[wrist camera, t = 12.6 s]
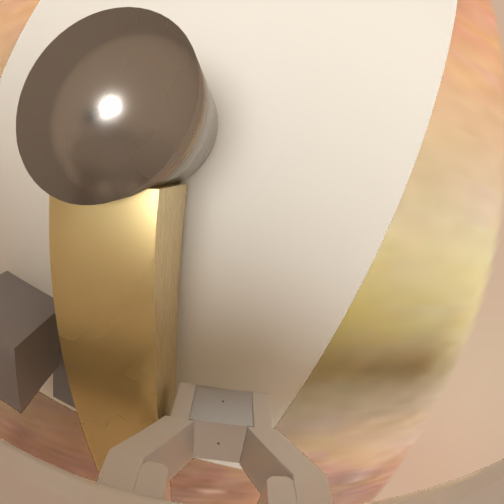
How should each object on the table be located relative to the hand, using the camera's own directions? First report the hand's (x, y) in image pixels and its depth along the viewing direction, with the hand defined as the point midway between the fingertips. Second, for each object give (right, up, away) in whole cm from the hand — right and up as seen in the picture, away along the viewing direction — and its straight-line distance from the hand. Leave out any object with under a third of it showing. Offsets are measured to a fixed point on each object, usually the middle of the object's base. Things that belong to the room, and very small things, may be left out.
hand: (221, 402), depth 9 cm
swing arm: (-2, +4, 0) cm, 4 cm away
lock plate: (-2, +9, 0) cm, 9 cm away
